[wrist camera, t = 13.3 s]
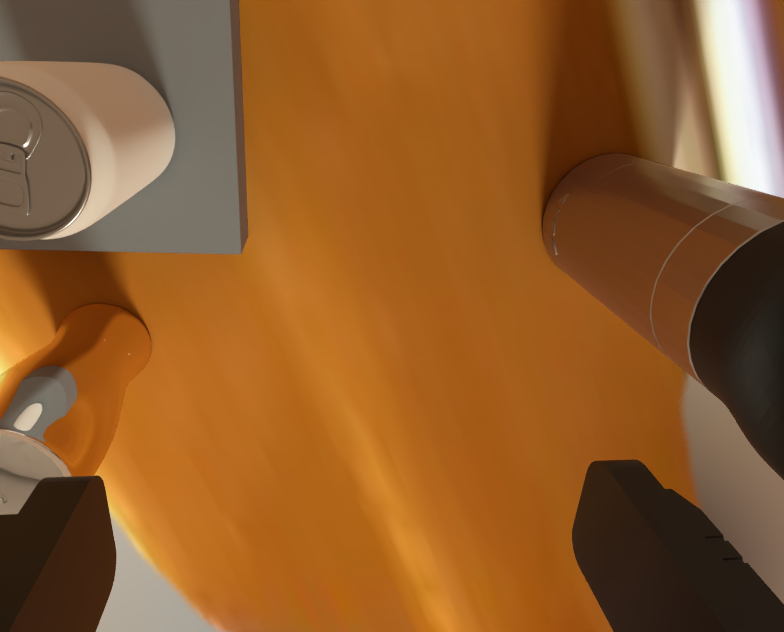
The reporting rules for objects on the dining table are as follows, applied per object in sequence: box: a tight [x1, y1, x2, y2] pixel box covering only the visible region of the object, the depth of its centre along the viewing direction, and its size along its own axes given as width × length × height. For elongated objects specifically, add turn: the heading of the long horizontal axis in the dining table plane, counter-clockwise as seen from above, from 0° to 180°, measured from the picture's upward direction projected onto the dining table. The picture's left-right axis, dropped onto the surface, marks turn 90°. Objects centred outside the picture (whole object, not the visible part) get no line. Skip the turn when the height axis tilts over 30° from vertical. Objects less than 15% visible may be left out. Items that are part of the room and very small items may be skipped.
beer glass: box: [0, 304, 152, 515], centre depth 32 cm, size 7×7×15 cm
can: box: [0, 61, 175, 241], centre depth 25 cm, size 6×6×12 cm
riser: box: [0, 0, 248, 254], centre depth 32 cm, size 14×14×4 cm
